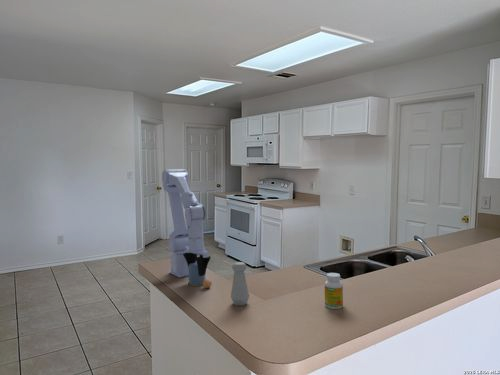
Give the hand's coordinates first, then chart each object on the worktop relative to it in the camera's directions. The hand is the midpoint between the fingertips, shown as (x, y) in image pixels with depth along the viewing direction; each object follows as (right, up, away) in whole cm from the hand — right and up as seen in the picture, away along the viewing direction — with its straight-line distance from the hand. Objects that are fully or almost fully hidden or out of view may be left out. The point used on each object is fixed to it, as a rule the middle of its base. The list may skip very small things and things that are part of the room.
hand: (197, 273), depth 132 cm
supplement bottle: (+46, -4, -25) cm, 52 cm away
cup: (0, -4, 0) cm, 3 cm away
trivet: (0, -4, 0) cm, 4 cm away
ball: (+4, -3, -5) cm, 7 cm away
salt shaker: (+17, -5, -21) cm, 27 cm away
